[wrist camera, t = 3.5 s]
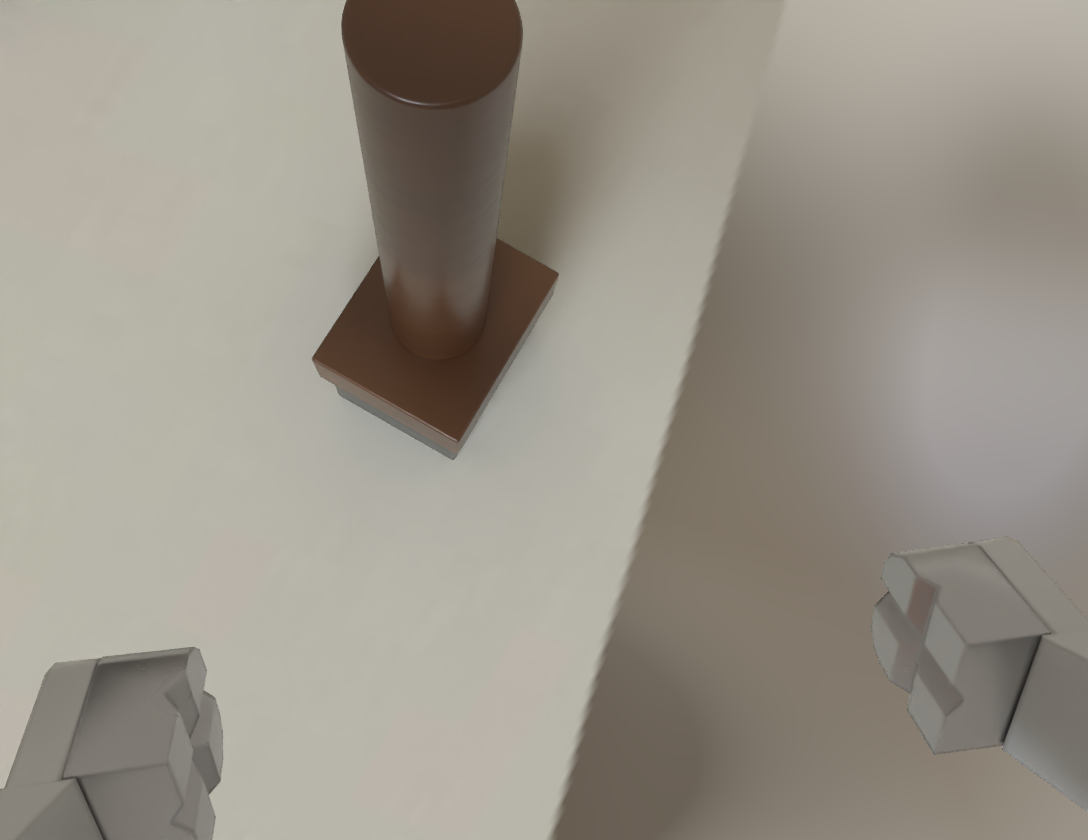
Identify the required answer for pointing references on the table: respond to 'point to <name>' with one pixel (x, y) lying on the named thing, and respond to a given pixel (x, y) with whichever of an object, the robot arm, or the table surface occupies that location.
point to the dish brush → (434, 217)
